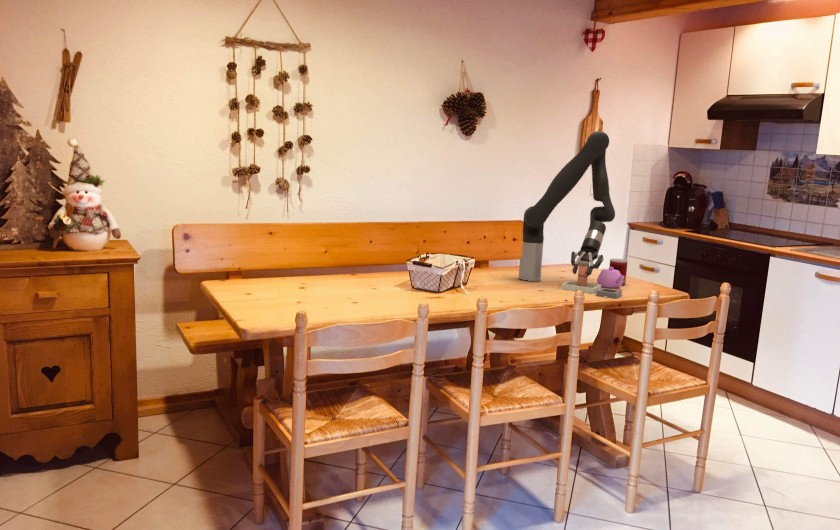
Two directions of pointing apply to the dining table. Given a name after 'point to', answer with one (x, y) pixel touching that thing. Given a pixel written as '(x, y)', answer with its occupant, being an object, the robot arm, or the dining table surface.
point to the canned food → (620, 267)
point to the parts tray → (580, 287)
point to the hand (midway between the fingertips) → (581, 273)
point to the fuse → (583, 273)
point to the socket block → (609, 293)
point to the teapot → (610, 278)
